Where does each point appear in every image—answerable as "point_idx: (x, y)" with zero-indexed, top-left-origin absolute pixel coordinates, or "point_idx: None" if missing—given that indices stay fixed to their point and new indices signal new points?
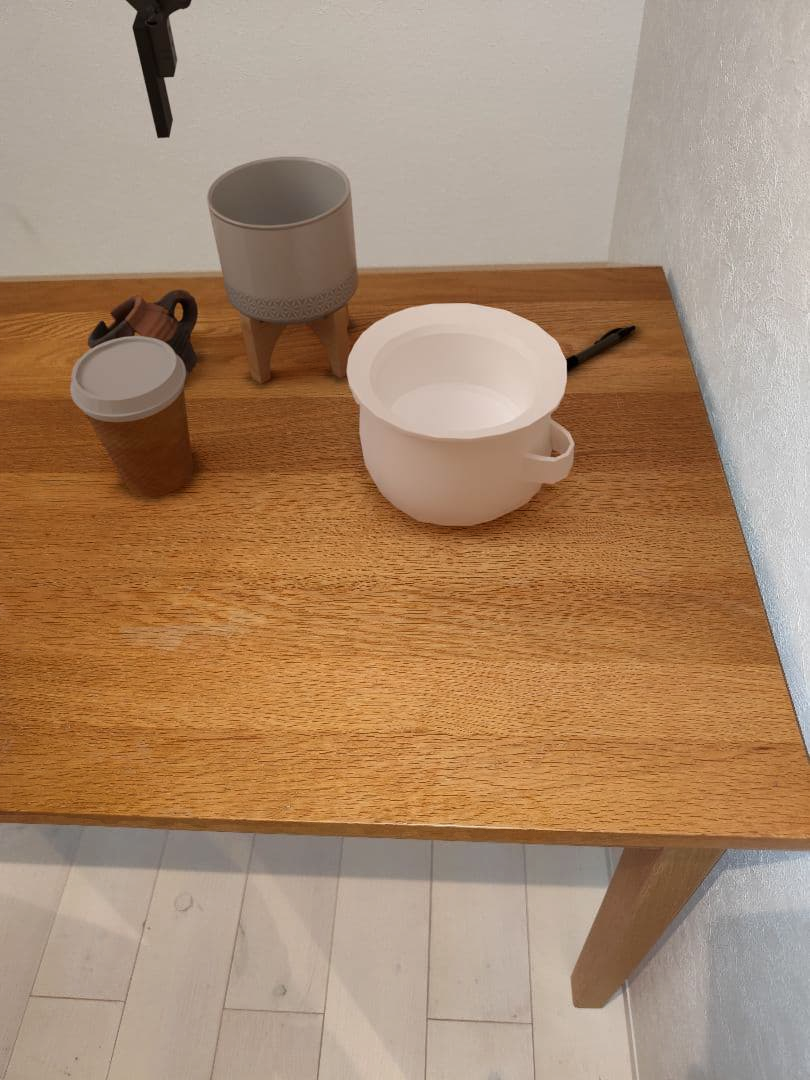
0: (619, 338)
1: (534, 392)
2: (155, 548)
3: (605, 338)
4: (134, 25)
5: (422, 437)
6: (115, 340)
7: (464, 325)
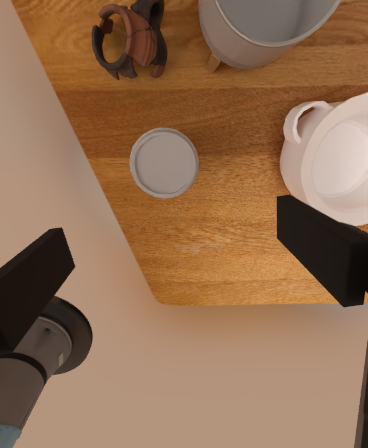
0: None
1: None
2: (178, 206)
3: None
4: (347, 303)
5: None
6: (149, 137)
7: None
